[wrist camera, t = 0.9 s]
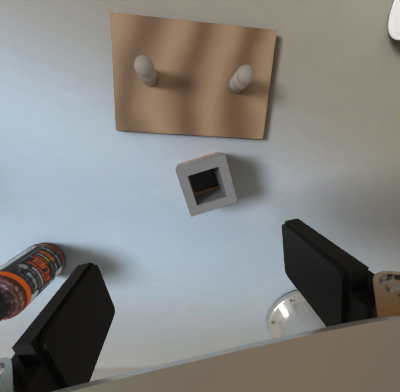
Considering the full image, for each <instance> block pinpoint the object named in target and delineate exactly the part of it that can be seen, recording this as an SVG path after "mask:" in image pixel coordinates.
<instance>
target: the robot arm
mask: <svg viewBox="0 0 400 392" xmlns="http://www.w3.org/2000/svg"><path fill="white" fill-rule="evenodd" d="M282 235H283V249H284V264H285V272H286V274H287V276H288V278H289V279H290V280H291V282H292V283H293V284H294V285H295V287H296V288H297V289H298V290H296V291H293V292H290V293H288V294H286V295H284V296H283V297H281V298H280V299H279V300H278V301H277V302H276V303H275V304H274V305H273V307H272V308H271V310H270V312H269V314H268V319H267V325H268V329H269V331H270V333H271V335H272V337H273V338H274V339H270V340H265V341H261V342H256V343H252V344H248V345H243V346H239V347H234V348H230V349H226V350H222V351H217V352H213V353H209V354H204V355H200V356H196V357H192V358H187V359H183V360H179V361H175V362H170V363H166V364H162V365H158V366H153V367H149V368H145V369H141V370H137V371H133V372H129V373H124V374H120V375H116V376H112V377H108V378H104V379H99V380H95V381H91V382H89V381H90V379H91V376H92V373H93V371H94V368H95V365H96V363H97V360H98V357H99V355H100V352H101V349H102V347H103V344H104V341H105V339H106V336H107V333H108V331H109V328H110V325H111V323H112V320H113V317H114V314H115V308H114V305H113V303H112V300H111V298H110V295H109V293H108V290H107V288H106V285H105V283H104V280H103V278H102V275H101V273H100V270H99V268H98V266H97V265H94V264H93V263H87V264H82V265H79V266H77V268H76V269H75V270H74V271H73V273H72V274H71V275H70V276H69V278H68V279H67V280H66V281H65V283H64V284H63V285H62V286H61V288H60V289H59V290H58V291H57V292H56V294H55V295H54V296H53V297H52V299H51V300H50V301H49V302H48V304H47V305H46V306H45V307H44V309H43V310H42V311H41V312H40V314H39V315H38V316H37V317H36V319H35V320H34V321H33V322H32V324H31V325H30V326H29V327H28V329H27V330H26V331H25V332H24V334H23V335H22V336H21V337H20V339H19V340H18V341H17V342H16V343H15V345H14V346H13V347H12V349H13V350H14V352H15V355H14V356H13V357H12V359H10V358H7V357H4V358H0V392H400V272H394V271H382V272H379V273H376V274H373V273H372V272H370V271H369V270H368V268H369V267H367V266H366V265H364V264H363V263H361V262H360V261H358V260H357V259H356V258H354V257H353V256H351V255H350V254H348V253H347V252H345V251H344V250H343V249H341V248H340V247H338V246H337V245H335V244H334V243H332V242H331V241H329V240H328V239H327V238H325V237H324V236H322V235H321V234H319V233H318V232H316V231H315V230H314V229H312V228H311V227H309V226H308V225H306V224H305V223H303V222H302V221H301V220H299V219H293V220H288V221H286V222H285V224H283V225H282Z"/></svg>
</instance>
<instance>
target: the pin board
mask: <svg viewBox="0 0 400 392" xmlns="http://www.w3.org/2000/svg"><path fill="white" fill-rule="evenodd" d="M110 18H111V38H112V58H113V79H114V99H115V119H116V130H117V131H130V132H147V133H163V134H180V135H197V136H213V137H230V138H247V139H263V134H264V126H265V118H266V111H267V103H268V95H269V87H270V80H271V72H272V64H273V56H274V49H275V41H276V33H277V30H269V29H260V28H251V27H241V26H232V25H223V24H214V23H204V22H195V21H186V20H177V19H167V18H158V17H149V16H139V15H130V14H121V13H112V12H110Z"/></svg>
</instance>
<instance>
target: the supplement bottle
mask: <svg viewBox="0 0 400 392" xmlns="http://www.w3.org/2000/svg"><path fill="white" fill-rule="evenodd" d="M64 264H65V259H64V256H63V254H62V252H61V251H60V250H59V249H58V248H56V247H55V246H53V245H50V244H46V243H41V244H36V245H33V246H31V247H30V248H28V249H26V250H25V251H23V252H22V253H20V254H19V255H17V256H15V257H14V258H12V259H11V260H9V261H8V262H6V263H5V264H3V265H2V266H0V321H1V320H6V319H10V318H12V317H14V316H16V315H18V314H19V313H20V312H21V311H23V310H24V309H25V308H26V307H27V306H28V305H29V304H30V303H31V302H32V301H33V300H34V299H35V298H36V297H37V296H38V295H39V294H40V293H41V291H43V290H44V289H45V288H46V287H47V286H48V285H49V284H50V282H52V281H53V280H54V279H55V278H56V276H58V275H59V273H60V272H61V271H62V270H63V268H64Z"/></svg>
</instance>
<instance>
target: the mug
mask: <svg viewBox="0 0 400 392" xmlns="http://www.w3.org/2000/svg"><path fill="white" fill-rule="evenodd" d="M388 30H389V34H390V36H391V37H392V38H393V39H395V40H400V0H394V3H393V6H392V9H391V12H390V16H389V22H388Z"/></svg>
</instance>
